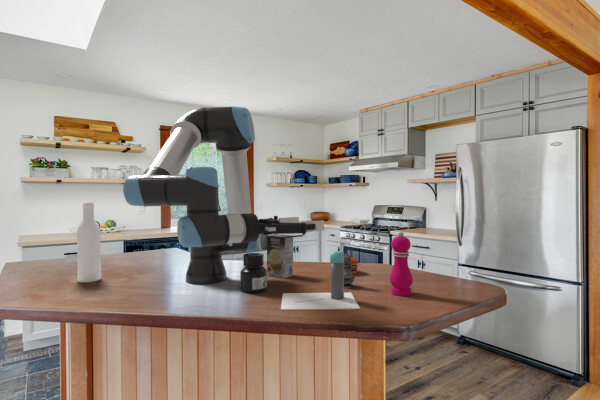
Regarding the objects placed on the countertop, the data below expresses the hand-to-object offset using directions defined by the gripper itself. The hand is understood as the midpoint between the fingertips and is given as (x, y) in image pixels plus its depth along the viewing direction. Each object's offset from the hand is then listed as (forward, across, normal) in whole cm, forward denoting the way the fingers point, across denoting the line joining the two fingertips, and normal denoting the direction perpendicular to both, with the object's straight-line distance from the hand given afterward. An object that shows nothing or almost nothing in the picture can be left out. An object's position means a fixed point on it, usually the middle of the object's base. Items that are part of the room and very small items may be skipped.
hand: (310, 223), depth 103 cm
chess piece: (+22, -10, -24) cm, 34 cm away
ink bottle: (-8, -24, -24) cm, 35 cm away
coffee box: (+10, -38, -25) cm, 47 cm away
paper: (+4, -1, -24) cm, 24 cm away
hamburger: (+35, -28, -25) cm, 51 cm away
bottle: (-56, -71, -25) cm, 93 cm away
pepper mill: (+30, +6, -24) cm, 39 cm away
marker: (+10, 0, -24) cm, 25 cm away
